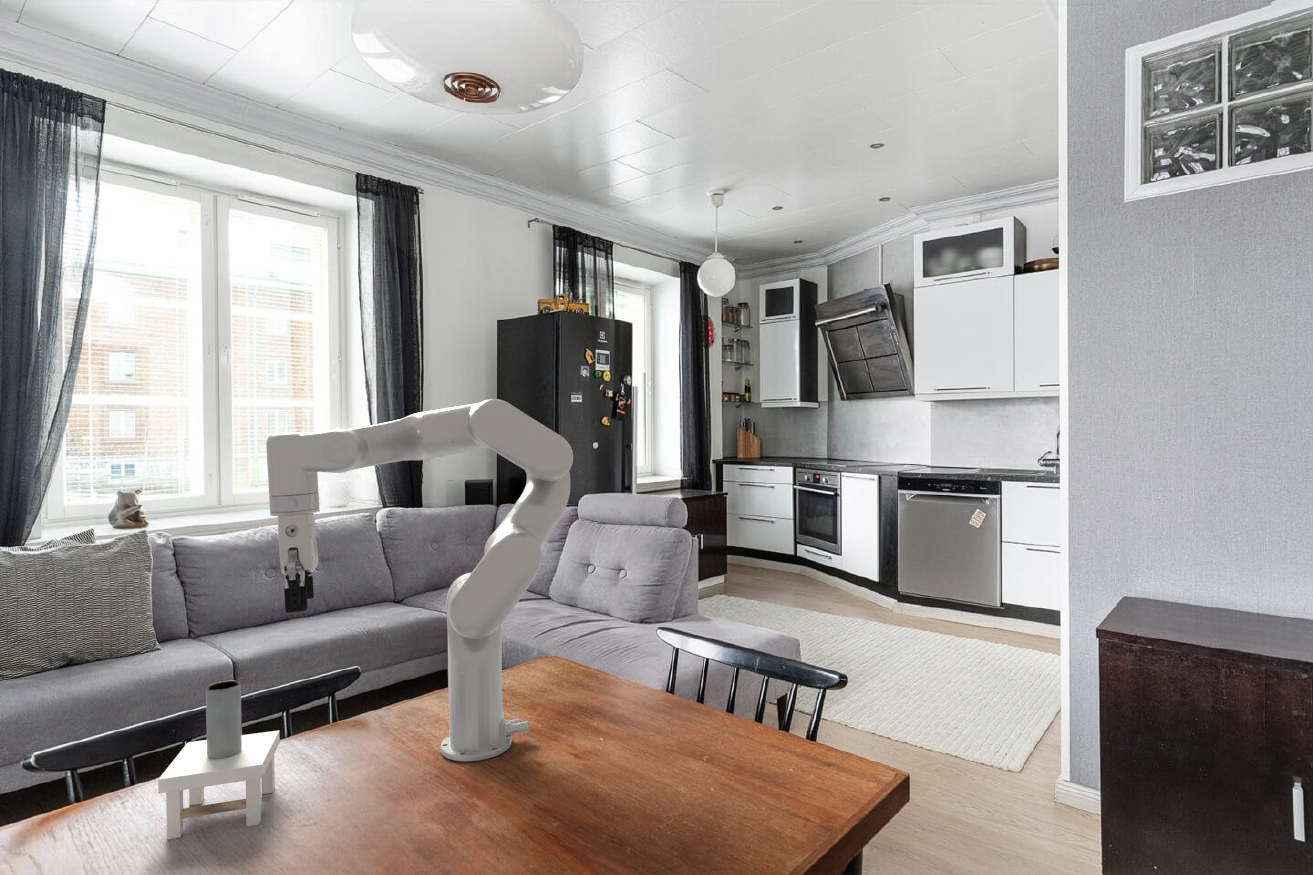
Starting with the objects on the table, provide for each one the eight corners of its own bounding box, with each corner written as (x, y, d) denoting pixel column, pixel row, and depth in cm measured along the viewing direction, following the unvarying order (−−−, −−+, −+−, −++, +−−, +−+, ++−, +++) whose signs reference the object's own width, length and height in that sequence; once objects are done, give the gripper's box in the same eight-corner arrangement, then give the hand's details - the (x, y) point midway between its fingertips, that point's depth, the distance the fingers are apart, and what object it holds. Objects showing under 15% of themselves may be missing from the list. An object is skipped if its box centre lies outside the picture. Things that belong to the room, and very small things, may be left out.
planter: (225, 760, 105) (224, 691, 105) (199, 758, 106) (198, 689, 106) (248, 747, 110) (247, 680, 110) (223, 745, 110) (222, 679, 110)
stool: (280, 785, 116) (279, 730, 116) (263, 825, 104) (262, 764, 104) (188, 799, 112) (187, 742, 112) (159, 843, 100) (158, 779, 100)
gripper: (313, 507, 114) (319, 613, 114) (323, 499, 130) (328, 592, 130) (260, 511, 111) (266, 619, 111) (277, 502, 127) (283, 597, 127)
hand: (300, 605), depth 120 cm, fingers open, 9 cm apart
